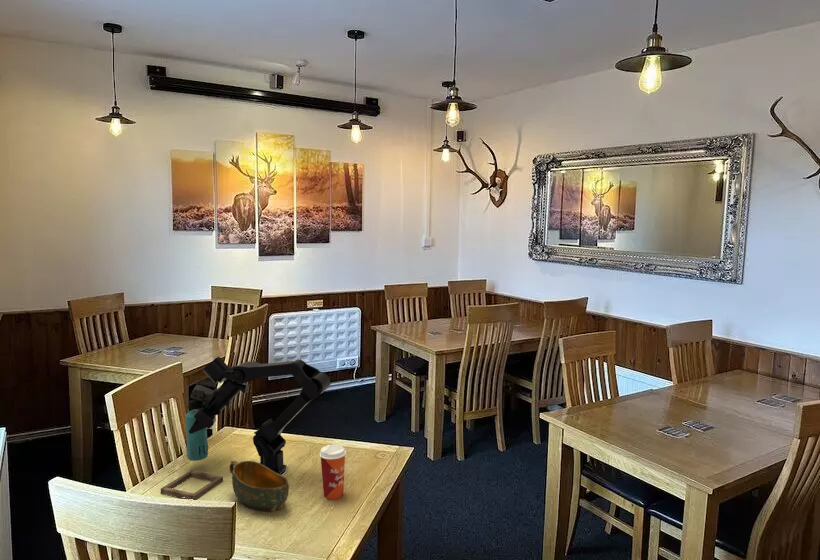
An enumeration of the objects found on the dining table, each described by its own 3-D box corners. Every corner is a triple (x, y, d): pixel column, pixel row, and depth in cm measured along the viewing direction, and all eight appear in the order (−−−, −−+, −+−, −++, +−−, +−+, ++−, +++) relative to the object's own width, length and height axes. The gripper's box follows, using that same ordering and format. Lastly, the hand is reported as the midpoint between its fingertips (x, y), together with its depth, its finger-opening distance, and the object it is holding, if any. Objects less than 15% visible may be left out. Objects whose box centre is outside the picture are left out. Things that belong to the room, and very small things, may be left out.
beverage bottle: (199, 466, 173) (196, 404, 172) (182, 464, 176) (179, 402, 174) (213, 458, 180) (210, 398, 178) (196, 456, 182) (194, 396, 180)
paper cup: (335, 504, 156) (334, 457, 154) (314, 496, 160) (313, 450, 158) (352, 492, 163) (351, 447, 161) (332, 485, 167) (331, 441, 165)
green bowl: (270, 481, 170) (269, 450, 168) (293, 511, 153) (292, 477, 151) (228, 492, 163) (226, 460, 161) (246, 526, 146) (244, 490, 145)
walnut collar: (223, 481, 170) (223, 476, 170) (194, 501, 158) (194, 496, 158) (191, 474, 174) (190, 470, 174) (160, 493, 163) (160, 488, 162)
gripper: (212, 369, 185) (180, 402, 185) (199, 386, 166) (163, 424, 166) (238, 390, 187) (206, 423, 187) (227, 409, 168) (192, 447, 168)
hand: (192, 428), depth 177 cm, fingers closed on beverage bottle, 6 cm apart
